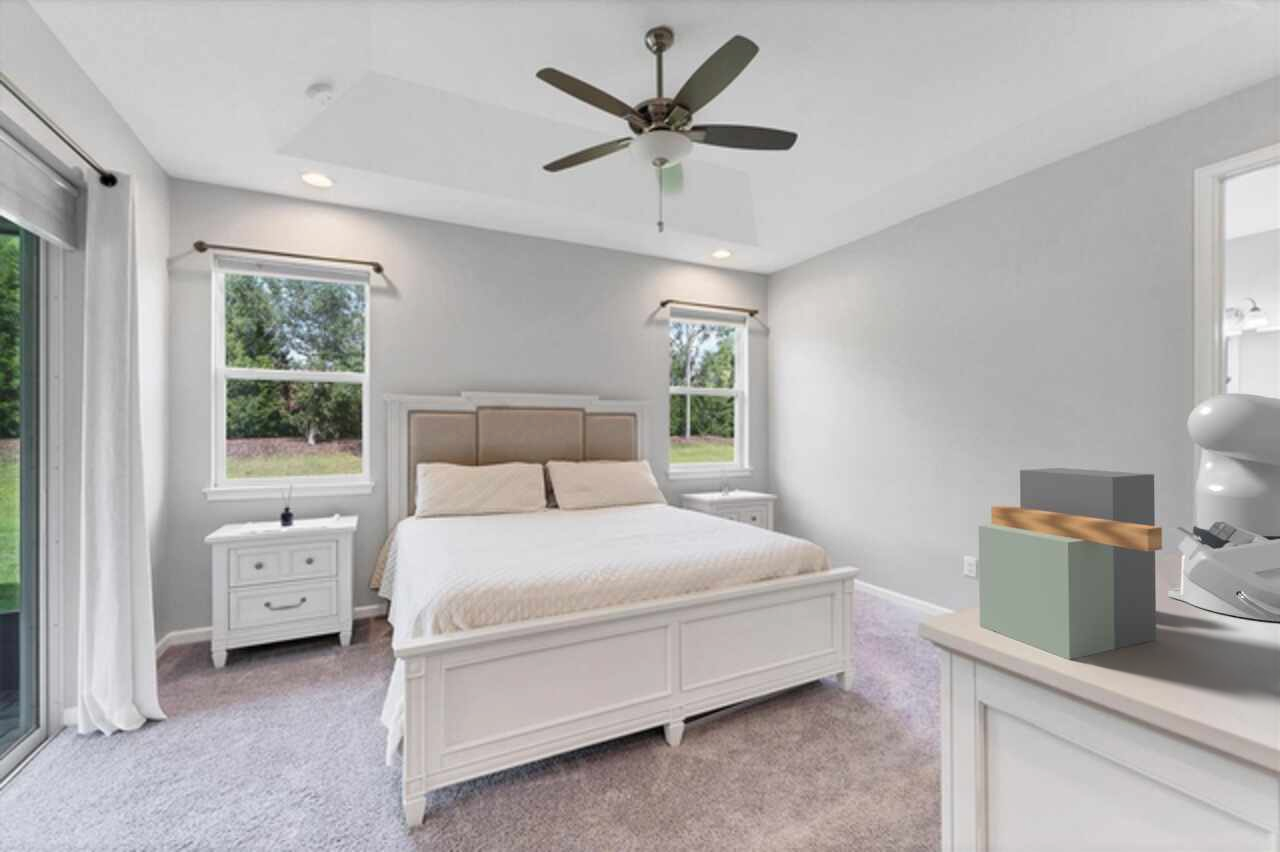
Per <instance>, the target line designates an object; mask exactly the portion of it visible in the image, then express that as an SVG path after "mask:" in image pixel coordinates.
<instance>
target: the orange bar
mask: <svg viewBox="0 0 1280 852" xmlns="http://www.w3.org/2000/svg"><path fill="white" fill-rule="evenodd" d="M990 511H991V512H990V514H991V517H990V518H991V521H990V522H991V524H995V525H1001V526H1006V527H1012V528H1018V529H1023V530H1029V531H1035V532H1040V533H1046V534H1052V535H1057V536H1063V537H1068V538H1074V539H1080V540H1085V541H1091V542H1097V543H1102V544H1108V545H1114V546H1119V547H1125V548H1131V549H1136V550H1142V551H1148V552H1149V551H1155V552H1156V551H1161V550H1163V532H1162V531H1163V529H1162V526H1156V525H1155V526H1148V525H1141V524H1134V523H1126V522H1119V521H1112V520H1105V519H1098V518H1091V517H1084V516H1076V515H1069V514H1062V513H1055V512H1048V511H1041V510H1033V509H1026V508H1020V506H1012V505H1005V504H1003V505H995V506H992V505H991V508H990ZM991 524H990V525H991Z"/></svg>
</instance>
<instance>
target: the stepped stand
mask: <svg viewBox="0 0 1280 852" xmlns="http://www.w3.org/2000/svg"><path fill="white" fill-rule="evenodd" d="M1019 482H1020V483H1019V486H1020V487H1019V488H1020V489H1019V491H1020V493H1019V495H1020V496H1019V497H1020V498H1019V500H1020V501H1019V502H1020V503H1019V504H1020V506H1019V508H1026V509H1033V510H1041V511H1048V512H1055V513H1062V514H1069V515H1076V516H1084V517H1091V518H1098V519H1105V520H1112V521H1119V522H1126V523H1134V524H1141V525H1148V526H1155V527H1156V523H1155V521H1156V519H1155V518H1156V517H1155V474H1154V473H1141V472H1139V473H1138V472H1128V471H1127V472H1126V471H1125V472H1123V471H1110V470H1094V469H1083V468H1082V469H1081V468H1080V469H1079V468H1065V467H1054V468H1052V467H1051V468H1037V469H1036V468H1035V469H1020V470H1019ZM978 565H979V566H978V571H979V574H978V575H979V577H978V578H979V579H978V584H979V585H978V586H979V592H978V593H979V627H981V628H984V627H985V628H984V629H986V628H987V630H989V629H990V630H989V631H992V630H993V631H992V632H994V631H996V632H995V633H997V632H998V633H997V634H1000V635H1002V634H1003V636H1005V635H1006V637H1008V638H1010V639H1014V640H1016V641H1018V642H1021V643H1024V644H1026V645H1028V646H1029V645H1030V646H1032V647H1034V648H1036V649H1040V650H1043V651H1045V652H1048V653H1051V654H1054V655H1055V656H1059V657H1060V658H1064V659H1067V660H1074V659H1078V658H1082V657H1087V656H1090V655H1096V654H1100V653H1104V652H1111V651H1113V650H1117V649H1122V648H1127V647H1130V646H1135V645H1138V644H1143V643H1148V642H1153V641H1156V640H1157V612H1156V609H1157V605H1156V601H1157V600H1156V596H1157V595H1156V590H1157V589H1156V551H1149V552H1148V551H1142V550H1136V549H1131V548H1125V547H1119V546H1114V545H1108V544H1102V543H1097V542H1091V541H1085V540H1080V539H1074V538H1068V537H1063V536H1057V535H1052V534H1046V533H1040V532H1035V531H1029V530H1023V529H1018V528H1012V527H1006V526H1001V525H995V524H982V525H978Z"/></svg>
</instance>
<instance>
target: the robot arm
mask: <svg viewBox="0 0 1280 852" xmlns="http://www.w3.org/2000/svg"><path fill="white" fill-rule="evenodd" d="M1186 424H1187V425H1186V426H1187V427H1186V428H1187V431H1188V435H1189V436H1190V438H1191V439H1192V440H1193V441H1194V443H1195V444H1196V445H1198V446H1199V447H1201V453H1200V454H1201V455H1200V463H1199V468H1198V474H1197V478H1196V482H1195V525H1194V526H1193V527H1192V532H1190V531H1189V530H1186V528H1183V527H1181V526H1175V527H1169V528H1168V529H1167V530H1166V532H1165V533H1164V534H1163V538H1164V540H1166V541H1168V542H1169V543H1171V544H1172V545H1174V546H1176V547H1177V548H1178V550H1179V551H1180V552H1181V554H1183V555H1182V556H1181V572H1180V573H1181V575H1180V576H1181V578H1180V581H1181V582H1180V586H1178V587H1175V588H1173V589H1169V590H1168V592H1167V596H1168V597H1169V598H1172V599H1173V598H1174V599H1177V600H1179V601H1184V602H1185V603H1187V604H1190V605H1192V606H1195V607H1197V608H1202V609H1204V610H1208V611H1212V612H1215V613H1219V614H1225V615H1230V616H1235V617H1240V618H1241V617H1242V618H1245V619H1252V620H1262V621H1267V622H1269V621H1270V622H1271V621H1272V622H1280V398H1277V397H1267V396H1262V395H1258V394H1251V393H1250V394H1249V393H1238V392H1237V393H1236V392H1231V393H1223V394H1217V395H1214V396H1211V397H1209V398H1206V399H1204V400H1202V401H1201V402H1200V403H1198V404H1197V405H1196V406H1195V407H1194V408H1193V409H1192V410H1191V412H1190V414H1189V416H1188V419H1187V422H1186Z"/></svg>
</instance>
